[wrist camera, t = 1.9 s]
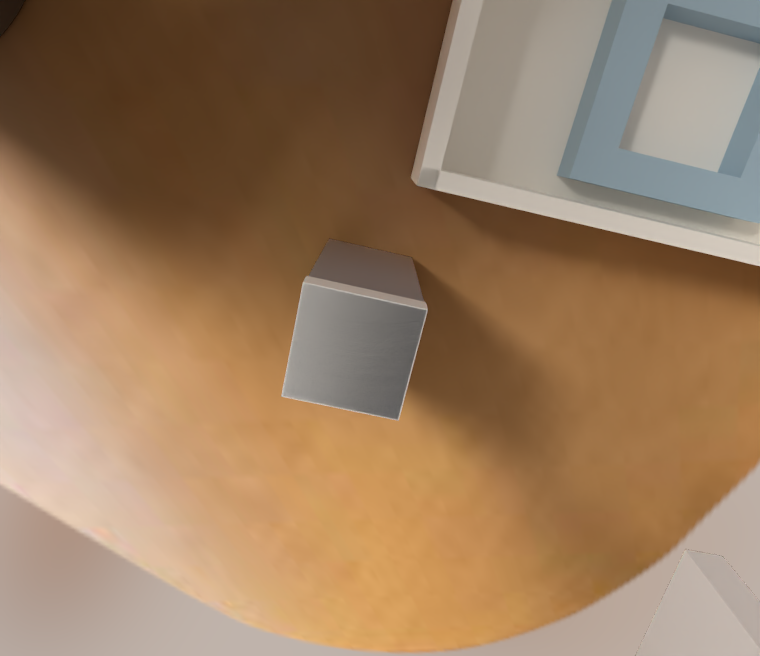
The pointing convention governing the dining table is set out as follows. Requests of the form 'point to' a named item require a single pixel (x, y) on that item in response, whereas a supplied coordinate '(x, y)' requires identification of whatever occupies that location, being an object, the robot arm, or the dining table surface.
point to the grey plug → (356, 331)
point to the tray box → (604, 116)
